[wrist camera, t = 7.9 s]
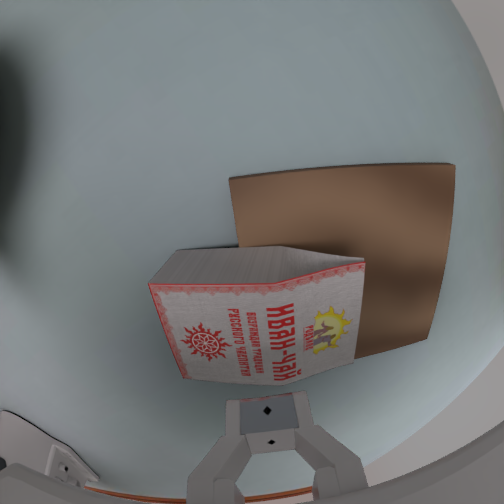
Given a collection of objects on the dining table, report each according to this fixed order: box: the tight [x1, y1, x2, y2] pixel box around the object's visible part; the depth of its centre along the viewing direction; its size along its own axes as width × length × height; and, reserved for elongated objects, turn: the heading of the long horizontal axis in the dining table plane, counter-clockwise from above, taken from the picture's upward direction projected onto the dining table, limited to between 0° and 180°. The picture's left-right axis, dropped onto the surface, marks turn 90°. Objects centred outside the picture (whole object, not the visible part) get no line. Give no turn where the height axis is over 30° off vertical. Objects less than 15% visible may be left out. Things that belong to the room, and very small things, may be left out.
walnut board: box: [229, 163, 455, 359], centre depth 17 cm, size 14×14×1 cm
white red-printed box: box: [148, 246, 365, 386], centre depth 15 cm, size 4×7×10 cm
